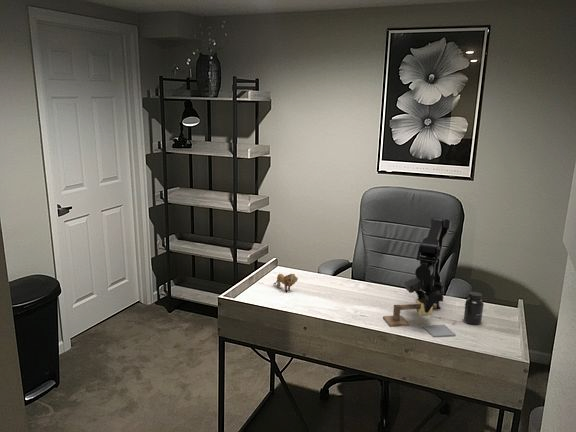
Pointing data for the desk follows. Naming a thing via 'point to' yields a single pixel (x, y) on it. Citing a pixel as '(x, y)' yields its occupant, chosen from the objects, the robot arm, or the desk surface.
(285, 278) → the lion figurine
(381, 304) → the desk surface
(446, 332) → the slate mat
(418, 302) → the slotted brass block
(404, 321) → the walnut stand
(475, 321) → the supplement bottle
